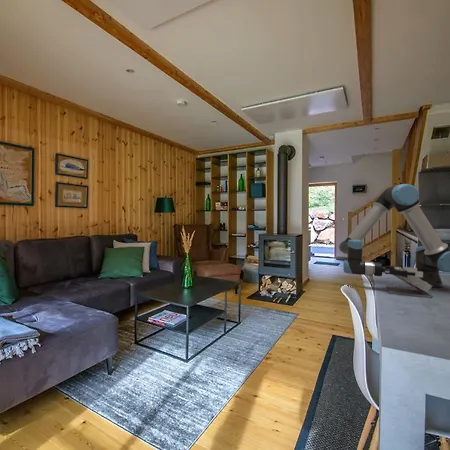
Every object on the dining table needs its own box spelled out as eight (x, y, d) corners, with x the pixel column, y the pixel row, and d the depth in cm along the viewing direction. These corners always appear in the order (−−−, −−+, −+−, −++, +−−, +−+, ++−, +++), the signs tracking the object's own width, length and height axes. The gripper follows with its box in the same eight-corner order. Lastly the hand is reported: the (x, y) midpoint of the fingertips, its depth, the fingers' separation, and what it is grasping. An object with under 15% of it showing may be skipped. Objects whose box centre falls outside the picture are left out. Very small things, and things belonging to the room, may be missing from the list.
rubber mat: (424, 291, 151) (424, 290, 151) (432, 298, 137) (432, 297, 137) (386, 287, 159) (386, 286, 159) (389, 293, 144) (389, 292, 144)
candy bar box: (419, 291, 150) (389, 273, 155) (424, 283, 149) (394, 265, 154) (427, 293, 139) (395, 274, 144) (433, 285, 139) (400, 266, 144)
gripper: (372, 272, 166) (414, 275, 157) (375, 279, 143) (425, 284, 134) (372, 259, 166) (415, 262, 157) (375, 265, 143) (425, 268, 134)
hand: (419, 272), depth 146 cm, fingers open, 13 cm apart
